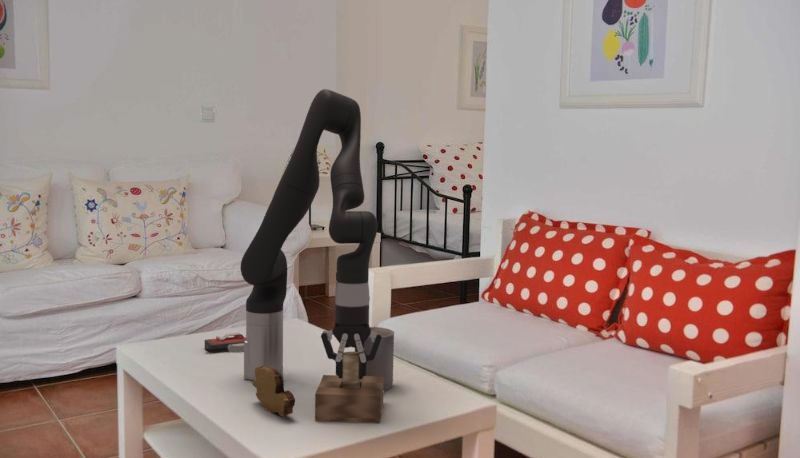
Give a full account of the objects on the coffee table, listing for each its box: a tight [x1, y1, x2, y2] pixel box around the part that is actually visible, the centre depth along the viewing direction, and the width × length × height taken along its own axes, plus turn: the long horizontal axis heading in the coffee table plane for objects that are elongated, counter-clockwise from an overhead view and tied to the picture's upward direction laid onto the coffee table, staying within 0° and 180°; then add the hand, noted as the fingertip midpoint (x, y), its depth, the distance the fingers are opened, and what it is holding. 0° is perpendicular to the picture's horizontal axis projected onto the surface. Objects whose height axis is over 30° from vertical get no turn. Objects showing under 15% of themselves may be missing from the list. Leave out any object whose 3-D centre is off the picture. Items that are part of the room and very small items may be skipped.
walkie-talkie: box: [204, 332, 246, 354], centre depth 232 cm, size 9×4×20 cm
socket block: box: [314, 374, 385, 424], centre depth 180 cm, size 14×14×6 cm
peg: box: [342, 351, 360, 388], centre depth 180 cm, size 4×4×12 cm
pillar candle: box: [354, 326, 395, 392], centre depth 198 cm, size 10×10×15 cm
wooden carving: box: [251, 366, 296, 417], centre depth 179 cm, size 16×5×10 cm, turn 40°
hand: (351, 377), depth 180 cm, fingers closed on peg, 4 cm apart
